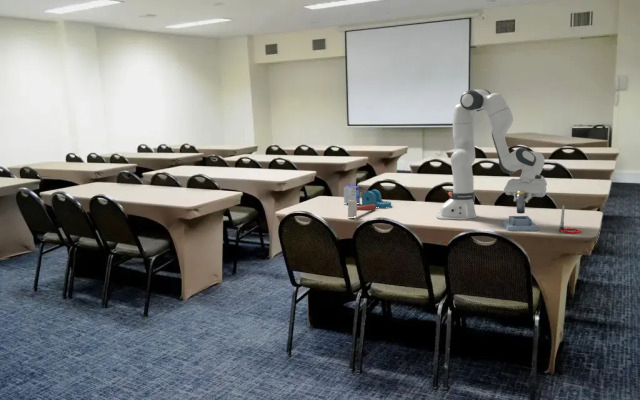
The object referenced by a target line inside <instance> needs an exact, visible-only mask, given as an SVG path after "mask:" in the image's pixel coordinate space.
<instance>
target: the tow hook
mask: <svg viewBox="0 0 640 400" xmlns="http://www.w3.org/2000/svg"><path fill="white" fill-rule="evenodd" d="M565 211H566V210H565V205H562V207H561V216H560V217H561V218H560V224H559V227H558V228H559V232H560V233H561V234H564V233H566V234H573V235H574V234H575V235H576V234H581V233H582V230H581V229H578V228H575V227H564V226H565V225H564V224H565V221H564V220H565Z"/></svg>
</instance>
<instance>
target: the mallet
mask: <svg viewBox="0 0 640 400" xmlns="http://www.w3.org/2000/svg"><path fill="white" fill-rule="evenodd" d="M374 209H375V210H376V209H377V208H376V205H375V204H372V205H364V206H362V205H360V206H358V205H357V201H351V200H350V201H349V204H348V205H347V218H348V217H354V216H356V217H358V216H357V215H358V214H357V213H358V211H365V212H366V211H367V212H369V211H370V210H372V211H375V210H374Z"/></svg>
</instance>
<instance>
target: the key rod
mask: <svg viewBox="0 0 640 400" xmlns="http://www.w3.org/2000/svg"><path fill="white" fill-rule="evenodd" d="M524 198H526V196H525V191H517V202H516V213H517V214H525V213H526V206H525V205H526V203H524Z"/></svg>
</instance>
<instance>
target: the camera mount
mask: <svg viewBox="0 0 640 400" xmlns="http://www.w3.org/2000/svg"><path fill="white" fill-rule="evenodd" d="M372 204H375V205H376V207H379V208H378V209H387V208H386V207H390V208H392V202H391V201H388V200H387V201H386V200H382V194H381V192H380V190H378V189H371V190H367V191H365V192H364V193H363V194H362V196H361V206H364V205H372Z"/></svg>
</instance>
